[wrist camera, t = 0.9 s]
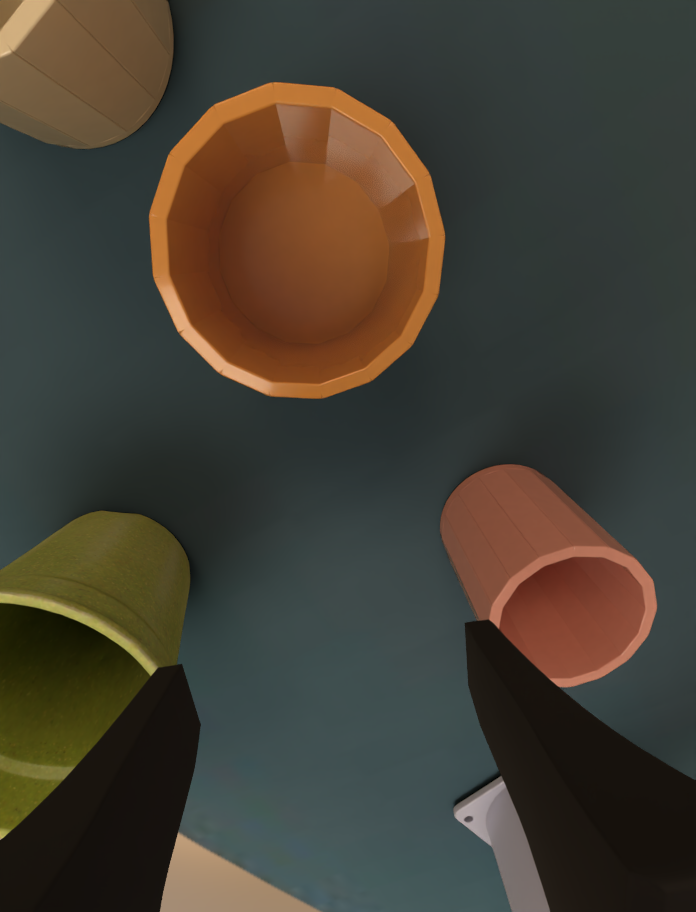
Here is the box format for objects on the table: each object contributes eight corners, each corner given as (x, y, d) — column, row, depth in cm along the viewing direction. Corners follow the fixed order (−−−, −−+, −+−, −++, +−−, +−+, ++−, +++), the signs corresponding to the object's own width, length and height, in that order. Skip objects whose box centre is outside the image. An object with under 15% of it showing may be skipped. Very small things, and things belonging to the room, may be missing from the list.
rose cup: (584, 523, 24) (686, 622, 17) (487, 594, 25) (548, 713, 18) (515, 438, 22) (600, 512, 16) (414, 518, 23) (454, 619, 17)
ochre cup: (433, 266, 19) (500, 269, 12) (301, 386, 21) (294, 449, 14) (309, 105, 17) (306, 0, 10) (171, 249, 19) (86, 242, 12)
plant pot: (-36, 561, 23) (-233, 729, 14) (111, 425, 21) (-18, 531, 13) (129, 683, 25) (42, 881, 17) (270, 573, 24) (248, 735, 16)
